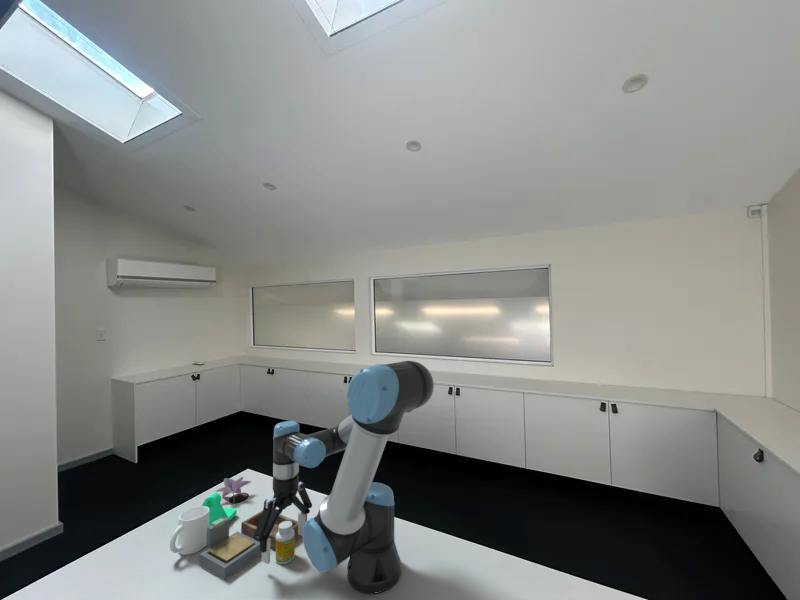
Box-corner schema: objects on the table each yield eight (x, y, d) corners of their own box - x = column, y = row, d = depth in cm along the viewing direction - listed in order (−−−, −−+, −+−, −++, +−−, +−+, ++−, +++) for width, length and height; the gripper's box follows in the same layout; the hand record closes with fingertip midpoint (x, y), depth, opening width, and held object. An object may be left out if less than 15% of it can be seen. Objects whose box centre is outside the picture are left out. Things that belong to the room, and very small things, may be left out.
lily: (255, 496, 137) (252, 472, 141) (243, 498, 127) (240, 472, 131) (226, 508, 135) (224, 483, 140) (211, 511, 125) (209, 484, 129)
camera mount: (237, 515, 122) (238, 487, 123) (225, 528, 114) (226, 497, 115) (206, 515, 122) (207, 486, 123) (192, 527, 115) (193, 497, 116)
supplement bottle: (283, 567, 95) (283, 532, 96) (271, 560, 98) (272, 526, 98) (298, 556, 99) (298, 522, 100) (286, 550, 102) (286, 517, 103)
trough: (301, 535, 109) (301, 522, 110) (277, 552, 101) (278, 538, 101) (265, 520, 118) (265, 508, 118) (241, 535, 110) (241, 522, 110)
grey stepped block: (261, 553, 101) (262, 522, 101) (224, 580, 90) (225, 545, 91) (233, 539, 108) (234, 510, 108) (195, 563, 97) (196, 530, 98)
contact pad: (253, 547, 100) (254, 542, 100) (226, 566, 93) (226, 560, 93) (235, 538, 104) (236, 534, 105) (208, 555, 97) (208, 550, 97)
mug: (179, 566, 96) (181, 529, 97) (159, 561, 98) (160, 525, 99) (214, 541, 107) (215, 508, 108) (195, 536, 110) (196, 504, 110)
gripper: (307, 457, 113) (306, 522, 111) (241, 489, 91) (239, 570, 90) (323, 462, 109) (322, 528, 108) (258, 496, 88) (257, 580, 86)
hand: (284, 547), depth 99 cm, fingers open, 13 cm apart
